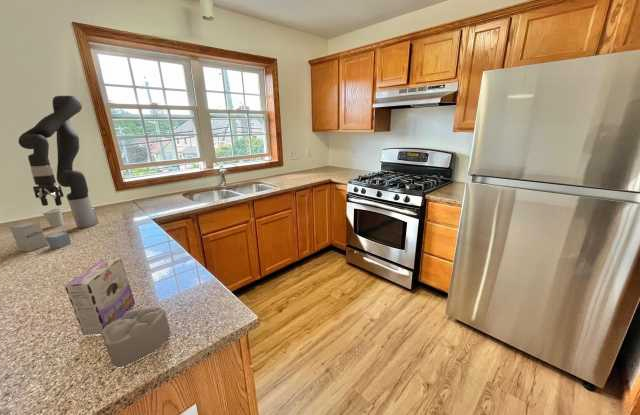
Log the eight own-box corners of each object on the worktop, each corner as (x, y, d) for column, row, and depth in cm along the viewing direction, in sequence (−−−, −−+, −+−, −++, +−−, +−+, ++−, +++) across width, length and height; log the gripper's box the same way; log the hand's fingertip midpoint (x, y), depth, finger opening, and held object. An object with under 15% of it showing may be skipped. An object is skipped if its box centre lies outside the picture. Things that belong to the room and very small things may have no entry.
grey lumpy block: (106, 350, 66) (96, 322, 63) (162, 321, 75) (155, 296, 73) (117, 374, 59) (106, 344, 57) (177, 339, 69) (170, 311, 66)
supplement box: (30, 251, 126) (20, 227, 122) (19, 251, 127) (8, 226, 123) (48, 245, 133) (39, 221, 129) (37, 244, 134) (28, 221, 130)
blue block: (62, 243, 134) (58, 232, 132) (71, 243, 133) (67, 232, 131) (50, 248, 129) (46, 237, 127) (60, 248, 128) (55, 237, 126)
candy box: (116, 304, 84) (101, 258, 79) (136, 303, 84) (122, 257, 79) (83, 338, 70) (62, 285, 65) (106, 335, 71) (87, 283, 66)
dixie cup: (65, 226, 159) (59, 210, 156) (46, 229, 155) (40, 213, 152) (68, 222, 166) (62, 207, 163) (50, 225, 162) (44, 210, 158)
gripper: (62, 173, 137) (71, 203, 141) (40, 174, 139) (48, 203, 143) (46, 175, 130) (55, 207, 134) (22, 176, 132) (32, 207, 136)
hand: (52, 205), depth 138 cm, fingers open, 8 cm apart
